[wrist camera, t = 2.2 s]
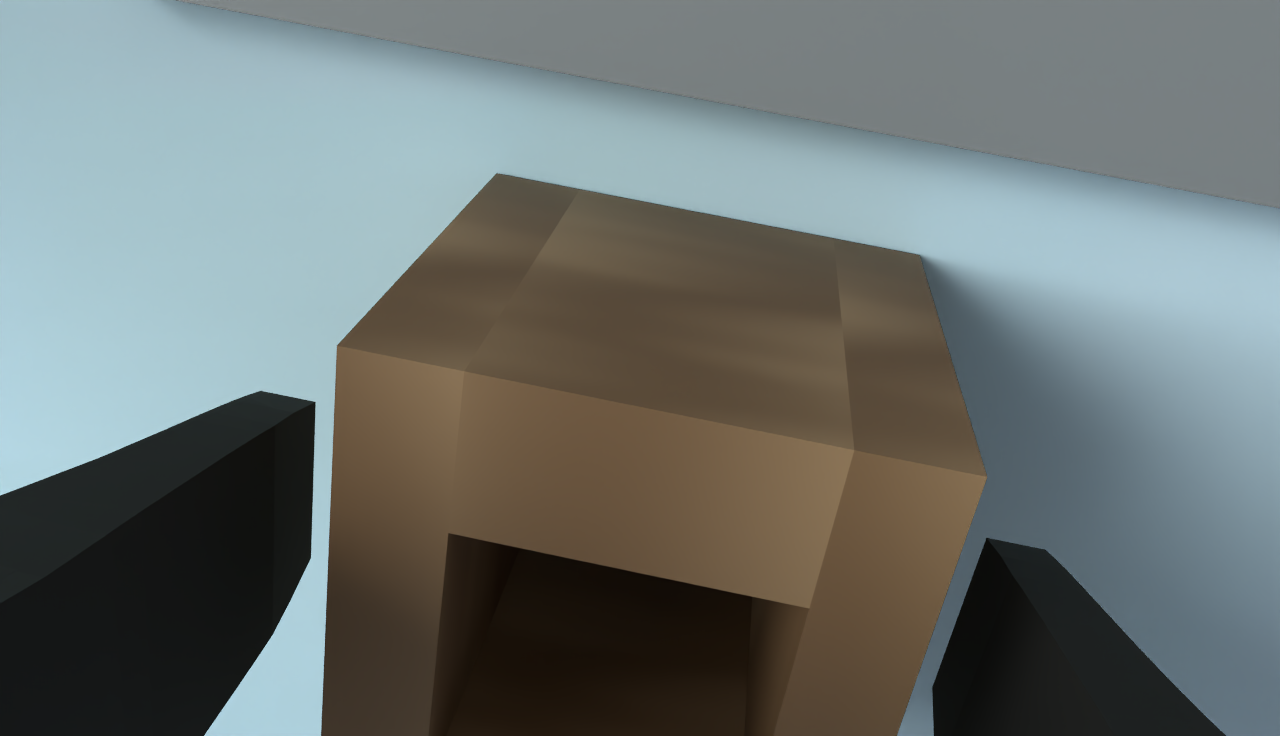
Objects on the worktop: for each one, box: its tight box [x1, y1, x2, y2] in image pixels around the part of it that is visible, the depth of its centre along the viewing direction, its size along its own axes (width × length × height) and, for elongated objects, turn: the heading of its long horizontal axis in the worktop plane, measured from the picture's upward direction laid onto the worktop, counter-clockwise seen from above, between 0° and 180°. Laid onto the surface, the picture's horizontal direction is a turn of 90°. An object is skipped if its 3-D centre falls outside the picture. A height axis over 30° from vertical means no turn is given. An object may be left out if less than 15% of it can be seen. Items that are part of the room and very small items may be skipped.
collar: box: [321, 173, 987, 736], centre depth 12 cm, size 5×6×5 cm
